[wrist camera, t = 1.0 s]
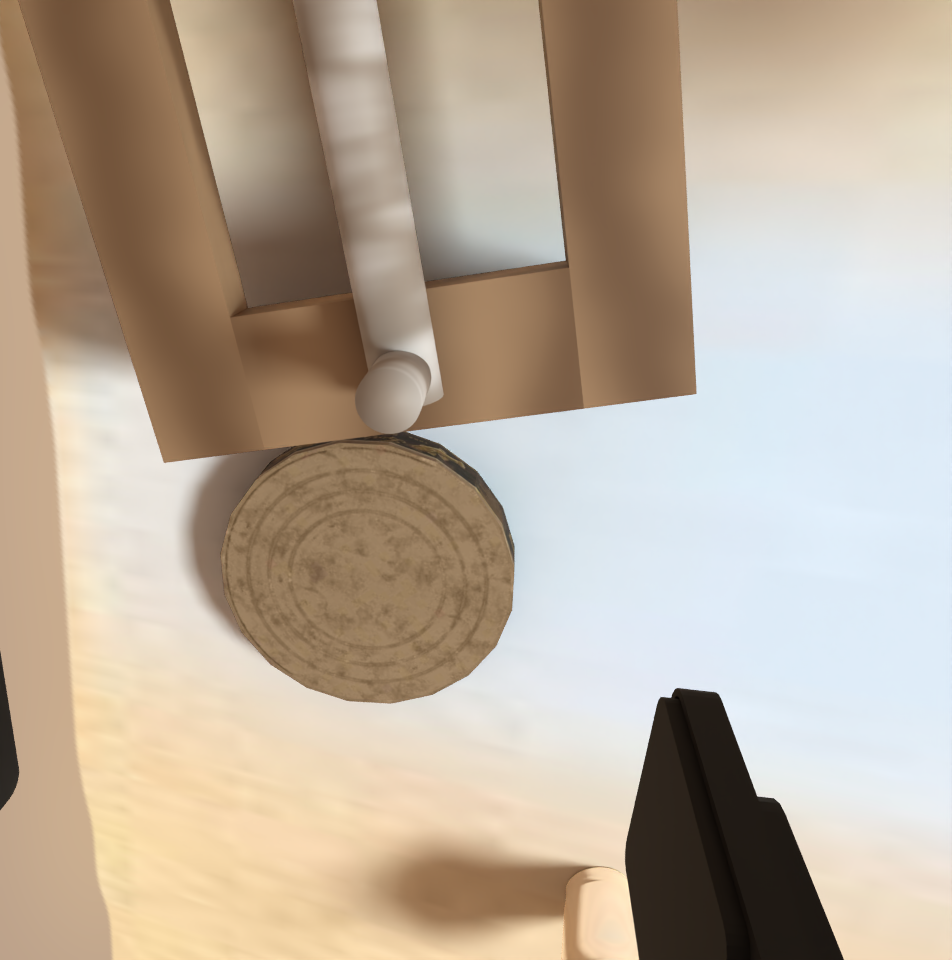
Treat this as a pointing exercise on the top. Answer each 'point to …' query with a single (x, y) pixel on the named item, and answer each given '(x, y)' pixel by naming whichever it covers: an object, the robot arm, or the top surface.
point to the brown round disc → (370, 567)
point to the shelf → (320, 337)
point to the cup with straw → (598, 917)
